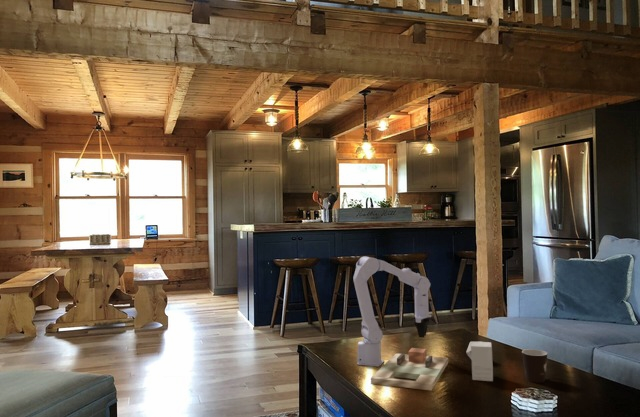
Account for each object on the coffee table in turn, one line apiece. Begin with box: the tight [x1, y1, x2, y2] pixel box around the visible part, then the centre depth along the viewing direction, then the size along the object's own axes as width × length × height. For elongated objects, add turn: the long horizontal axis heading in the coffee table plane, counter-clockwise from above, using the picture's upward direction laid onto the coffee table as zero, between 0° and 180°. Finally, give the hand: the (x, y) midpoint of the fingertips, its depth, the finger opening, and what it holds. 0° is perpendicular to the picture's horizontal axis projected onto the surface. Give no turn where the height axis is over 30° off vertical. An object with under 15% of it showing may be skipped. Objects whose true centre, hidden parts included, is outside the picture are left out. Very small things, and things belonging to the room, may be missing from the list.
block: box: [407, 347, 427, 363], centre depth 204 cm, size 6×6×4 cm
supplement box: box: [471, 341, 494, 382], centre depth 187 cm, size 7×7×13 cm
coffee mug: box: [521, 348, 548, 384], centre depth 184 cm, size 12×9×10 cm
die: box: [465, 341, 483, 361], centre depth 208 cm, size 8×9×10 cm
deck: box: [370, 353, 449, 391], centre depth 195 cm, size 22×35×4 cm, turn 157°
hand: (422, 336), depth 213 cm, fingers open, 3 cm apart
